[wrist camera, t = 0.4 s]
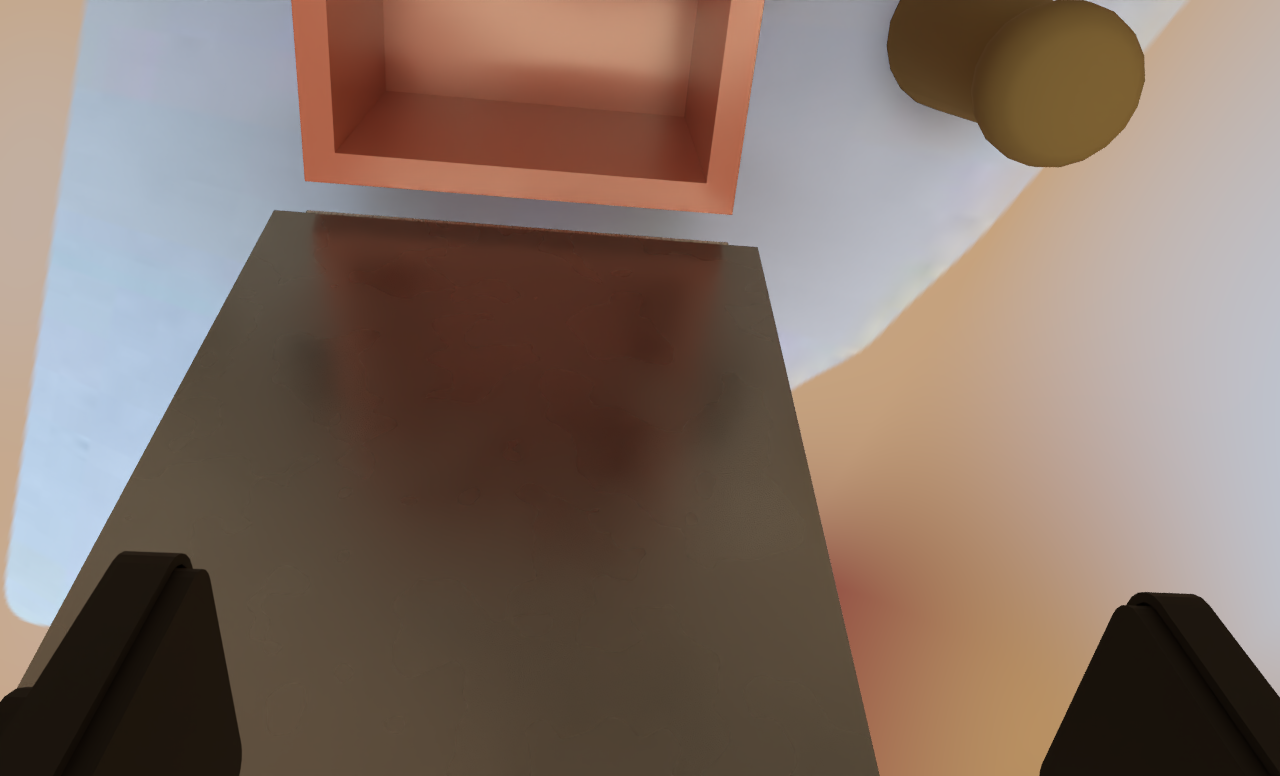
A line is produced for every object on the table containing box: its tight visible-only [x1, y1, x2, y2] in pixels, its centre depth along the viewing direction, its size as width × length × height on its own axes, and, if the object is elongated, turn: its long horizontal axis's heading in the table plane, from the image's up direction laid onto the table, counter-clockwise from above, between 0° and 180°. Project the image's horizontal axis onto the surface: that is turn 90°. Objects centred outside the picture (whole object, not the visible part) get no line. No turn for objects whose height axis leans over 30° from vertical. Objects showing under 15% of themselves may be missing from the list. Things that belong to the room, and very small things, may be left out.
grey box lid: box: [18, 210, 880, 776], centre depth 24 cm, size 24×16×1 cm
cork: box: [887, 0, 1145, 167], centre depth 34 cm, size 6×6×11 cm
